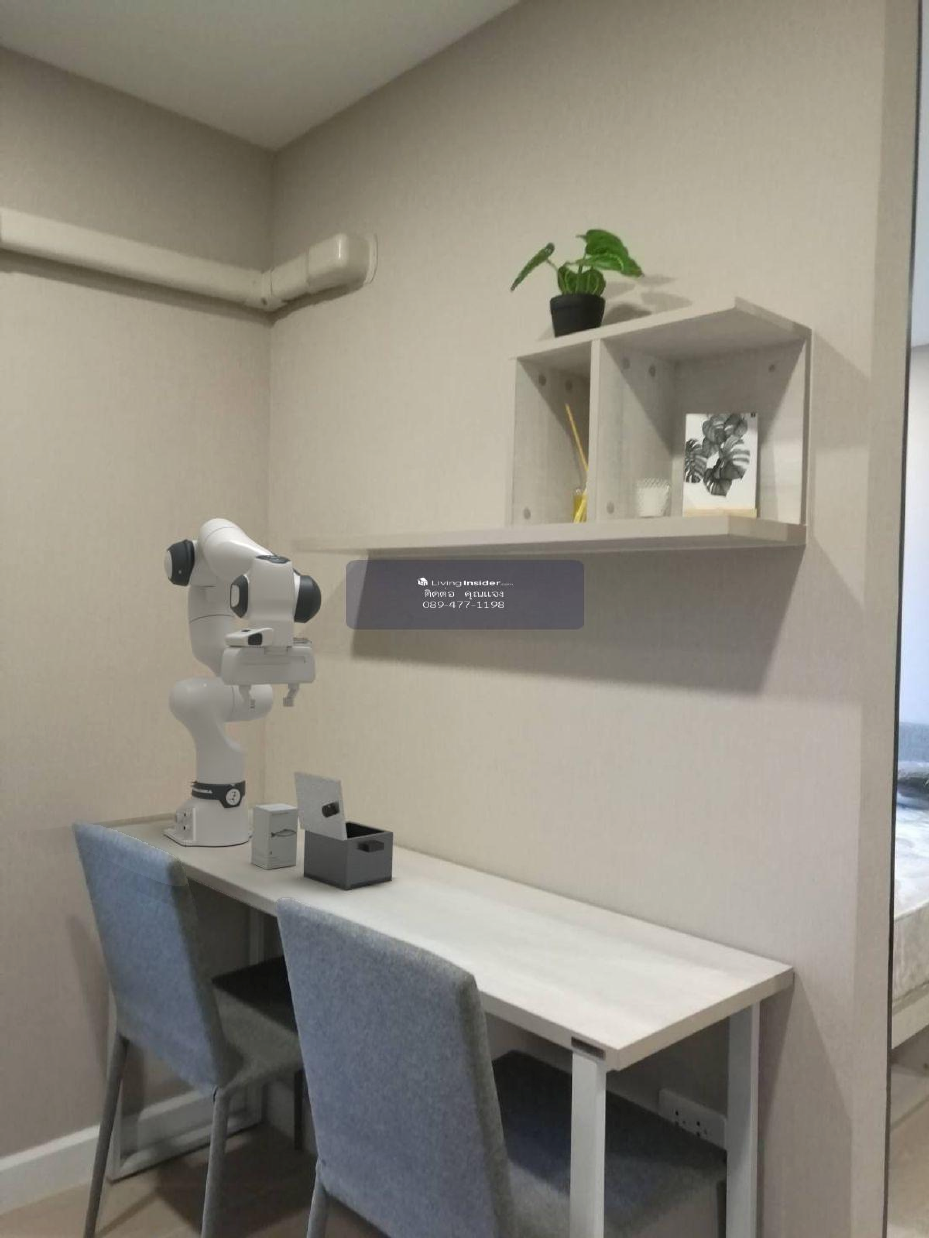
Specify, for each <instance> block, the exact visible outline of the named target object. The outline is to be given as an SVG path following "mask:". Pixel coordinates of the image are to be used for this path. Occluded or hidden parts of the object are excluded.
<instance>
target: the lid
mask: <svg viewBox="0 0 929 1238" xmlns="http://www.w3.org/2000/svg"><path fill="white" fill-rule="evenodd" d="M293 776H294V785H295V795H296V801H297V808H298V821H299V822H298V823H299V829H300V830H304V831H305V830H307V831H310V832H314V833H317V834H321V835H324V836H328V837H331V838H335V839H339V840H342V841H344V840H346V839H347V834H346V825H345V822H346V818H345V809H344V799H343V790H342V782H341V779H338V778H337V779H335V778H331V777H327V776H321V775H317V774H312V773H308V772H303V771H300V770H299V771H298V770H297V771H295V772H293Z"/></svg>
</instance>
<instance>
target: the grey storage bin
mask: <svg viewBox="0 0 929 1238" xmlns="http://www.w3.org/2000/svg"><path fill="white" fill-rule="evenodd" d="M345 825H346V834H347V839H346V840H344V841H342V840H339V839H335V838H331V837H328V836H324V835H321V834H317V833H314V832H310V831H307V830H304V845H303V846H304V847H303V848H304V850H303V851H304V852H303V877H304V878H306V879H310V880H313V881H316V882H320V883H322V884H325V885H329V886H330V887H331V886H332V887H334V888H337V889H339V890H343V891H346V892H347V891H352V890H356V889H361V888H365V887H369V886H373V885H378V884H383V883H387V882H391V881H392V880H393V852H394V850H393V849H394V831H390V830H387V829H383V828H378V827H375V826H371V825H367V824H363V823H359V822H355V821H352V820H348V821H345Z"/></svg>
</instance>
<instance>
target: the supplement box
mask: <svg viewBox="0 0 929 1238" xmlns="http://www.w3.org/2000/svg"><path fill="white" fill-rule="evenodd" d="M298 821H299V813H298V806H297V807H296V806H295V805H294V806H293V805H289V804H287V803H283V802H279V803H270V804H269V803H268V804H259V805H253V806H252V829H251V830H252V836H251V853H250V855H251V858H250V863H251V864H253V865H255V866H257V867H260V868H262V869H264V870H266V871H268V870H271V869H276V868H277V869H278V868H283V867H292V866H293V867H295V866H296V865H297V851H298V829H299V828H298V826H299V822H298Z"/></svg>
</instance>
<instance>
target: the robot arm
mask: <svg viewBox="0 0 929 1238" xmlns="http://www.w3.org/2000/svg"><path fill="white" fill-rule="evenodd" d="M163 562H164V563H163V566H164V570H165V574H166V576H167V579H168V580H169V581H170V583H171V584H172V585H175V586H180V587H187V586H189V589H188V594H187V620H188V621H187V622H188V630H189V636H190V645H191V652H192V655H193V657H194V658H195V659H196V660H197V661H198V662H199V663H201V664H203V665H204V666H206V667H208V668H209V669H210V670H211V671H212V672H213V674H214V675H215V676H194V677H191V678H189V677H188V678H185V679H181V680H177V681H176V683H175V684H174V685H173V686H172V688H171V690H170V692H169V696H168V706H169V709H170V710H169V711H170V713H171V715H173V717H174V719H175V720H177V721H178V722H179V723H181V724H182V725H183V726H184V727H185V728H186V729H187V730H188V732H189V735H190V736H191V738H192V740H193V744H194V747H195V757H196V759H195V761H196V762H195V763H196V764H195V765H196V769H195V770H196V772H195V774H196V775H195V776H196V777H195V780H194V781H190V783H191V784H192V785H190V787H191V793H190V794H191V796H190V797H188V799H187V800H186V801H184V803H183V804H181V805H180V806H179V807H178V808H177V809H176V811H175V814H174V816H173V817H174V818H173V821H174V823H173V824H174V825H173V827H168V828H166V829H164V832H163V835H165V836H166V837H169V838H170V839H171V840H173V841H174V842H176V843H178V844H180V845H181V846H185V845H186V847H187V846H188V847H189V846H199V847H200V846H201V847H202V846H203V847H225V846H233V845H238V844H239V845H240V844H243V843H246V842H247V841H249V840H250V837H251V838H252V829H250V816H249V815H250V813H249V812H250V811H249V803H248V801H247V800H246V798H245V796H246V789H247V784H246V780H245V755H246V754H245V752H246V751H245V750H244V747H243V746H242V744H241V743H240V742H239V741H238V740H236V739H234V738H232V737H230V736H228V734H227V732H226V728H225V723H234V722H235V723H236V722H250V721H253V720H259V719H261V718H264V717H265V718H266V716H268V715H269V713H270V712H271V711H272V708H273V706H274V701H275V695H274V690H273V688H272V686H271V685H287V689H289V691H288V693H287V695H286V697H283V698H282V701H283V702H282V706H283V707H284V708H291V707H292V708H293V707H294V706H295V698H296V696H297V694H298V693H299V691H300V687H301V686H300V684H313V682H314V681H315V680H316V675H317V674H316V673H317V672H316V659H315V646H314V643H313V642H312V641H311V640H310V639H309V638H308V637H295V634H294V633H295V623H299V624H300V623H301V624H306V623H308V622H310V620H312V619H313V618H314V617H316V615H317V614H318V612H319V611H320V609H321V606H322V592H321V588H320V586H319V585H318V584H317V582H316V581H315V580H314V579H313V578H312V576H311V575H309V574H301V573H300V572H299V571H297V570H296V569H295V568H294V566H293V562H292V560H290V558H287V557H285V556H279V555H278V554H275V553H273V551H270V550H269V549H267V548H265V547H263V546H261V545H259V544H258V543H257V542H256V541H254V540H253V539H251V538H250V537H249V536H248V535H247V534H246V532H244V531H243V529H241V528H240V527H239V526H238V525H237V524H235V523H234V522H232V521H230V520H229V519H226V518H220V517H216V518H213V519H209V520H208V521H206V522H205V523H204V524H203V525H202V526H201V528H200V529H199V531H198V536H197V539H195V540H194V539H193V540H188V538H185V539H183V540H182V541H178V542H175V543H173V544H171V545H170V546H169V547H168V548H167V549H166V553H165V557H164V561H163ZM235 615H236V616H237V617H238V618H240V619H243V620H248V627H245V628H242V629H240V630H237V629H238V628H237V624H236V617H235Z"/></svg>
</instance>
